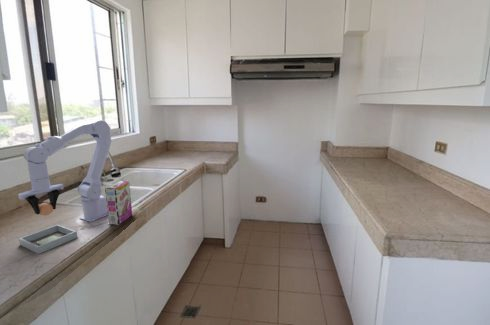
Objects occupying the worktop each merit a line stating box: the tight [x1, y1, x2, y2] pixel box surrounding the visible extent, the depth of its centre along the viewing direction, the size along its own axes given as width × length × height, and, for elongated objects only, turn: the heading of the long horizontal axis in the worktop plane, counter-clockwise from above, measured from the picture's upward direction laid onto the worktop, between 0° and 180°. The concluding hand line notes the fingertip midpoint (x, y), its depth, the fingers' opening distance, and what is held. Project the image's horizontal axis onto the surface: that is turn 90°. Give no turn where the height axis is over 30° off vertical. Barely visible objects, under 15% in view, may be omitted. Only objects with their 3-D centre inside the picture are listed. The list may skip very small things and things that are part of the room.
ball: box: [38, 202, 54, 217], centre depth 106 cm, size 5×5×5 cm
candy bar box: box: [104, 180, 133, 226], centre depth 117 cm, size 11×5×16 cm, turn 174°
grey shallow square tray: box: [18, 224, 78, 255], centre depth 100 cm, size 13×13×2 cm
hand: (45, 211), depth 106 cm, fingers closed on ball, 5 cm apart
